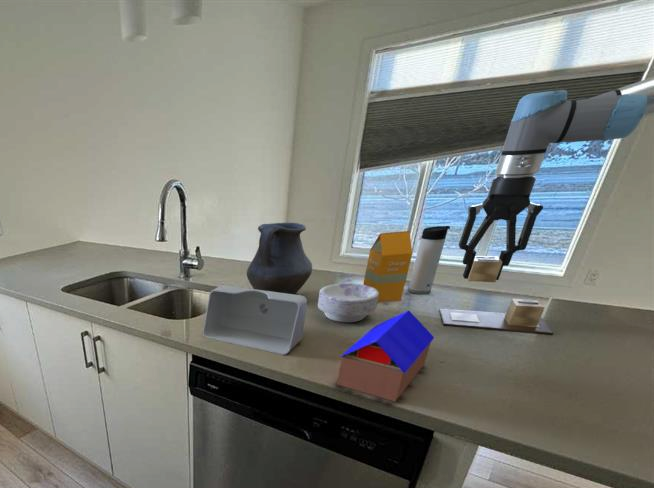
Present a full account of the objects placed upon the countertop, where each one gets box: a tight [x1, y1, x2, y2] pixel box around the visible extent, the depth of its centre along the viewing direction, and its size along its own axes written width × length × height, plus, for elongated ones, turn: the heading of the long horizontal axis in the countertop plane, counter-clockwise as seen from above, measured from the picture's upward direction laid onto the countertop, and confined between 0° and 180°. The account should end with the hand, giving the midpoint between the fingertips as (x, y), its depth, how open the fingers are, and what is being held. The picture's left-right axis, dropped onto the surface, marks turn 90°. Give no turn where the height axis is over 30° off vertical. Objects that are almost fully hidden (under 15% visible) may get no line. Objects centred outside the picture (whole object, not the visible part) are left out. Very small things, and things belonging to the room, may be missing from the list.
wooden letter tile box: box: [505, 298, 546, 326], centre depth 102 cm, size 5×5×5 cm
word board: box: [438, 307, 554, 336], centre depth 106 cm, size 22×12×1 cm, turn 62°
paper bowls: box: [317, 282, 379, 323], centre depth 115 cm, size 15×15×8 cm
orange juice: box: [362, 230, 413, 303], centre depth 123 cm, size 8×9×20 cm
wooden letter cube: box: [467, 255, 502, 283], centre depth 101 cm, size 5×5×5 cm
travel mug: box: [407, 225, 451, 295], centre depth 125 cm, size 6×7×20 cm
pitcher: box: [246, 222, 313, 295], centre depth 129 cm, size 21×22×25 cm
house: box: [336, 310, 435, 402], centre depth 85 cm, size 12×20×12 cm, turn 135°
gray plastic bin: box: [202, 284, 308, 356], centre depth 109 cm, size 25×16×12 cm, turn 51°
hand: (480, 277), depth 102 cm, fingers closed on wooden letter cube, 5 cm apart
